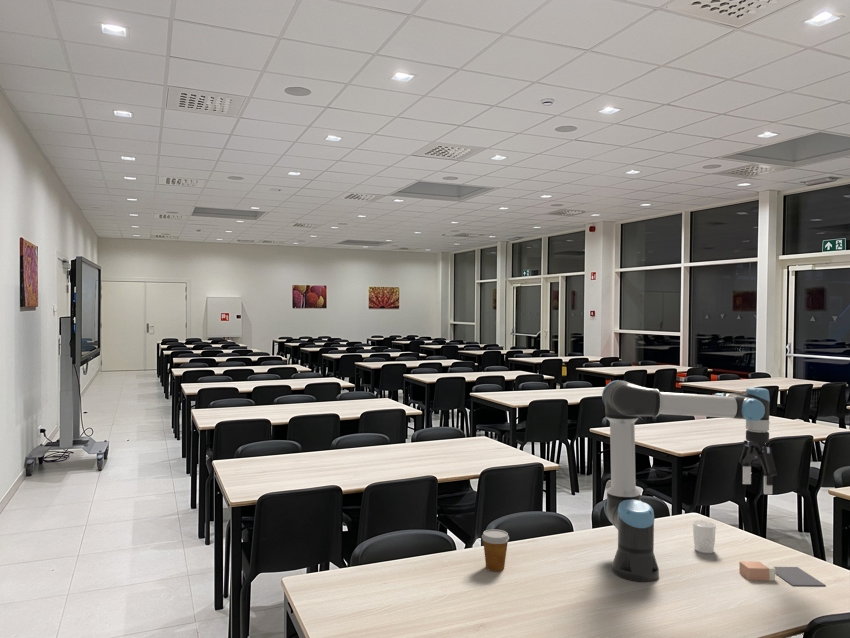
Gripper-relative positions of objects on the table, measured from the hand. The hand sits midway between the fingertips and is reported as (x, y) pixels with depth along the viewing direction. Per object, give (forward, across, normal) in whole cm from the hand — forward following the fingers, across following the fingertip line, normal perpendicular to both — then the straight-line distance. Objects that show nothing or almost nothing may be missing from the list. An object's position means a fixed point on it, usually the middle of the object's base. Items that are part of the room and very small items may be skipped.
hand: (757, 488), depth 222 cm
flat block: (+26, -14, +8) cm, 31 cm away
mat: (+26, -14, -5) cm, 30 cm away
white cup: (+26, +10, +14) cm, 32 cm away
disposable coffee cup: (+26, -7, +96) cm, 100 cm away
